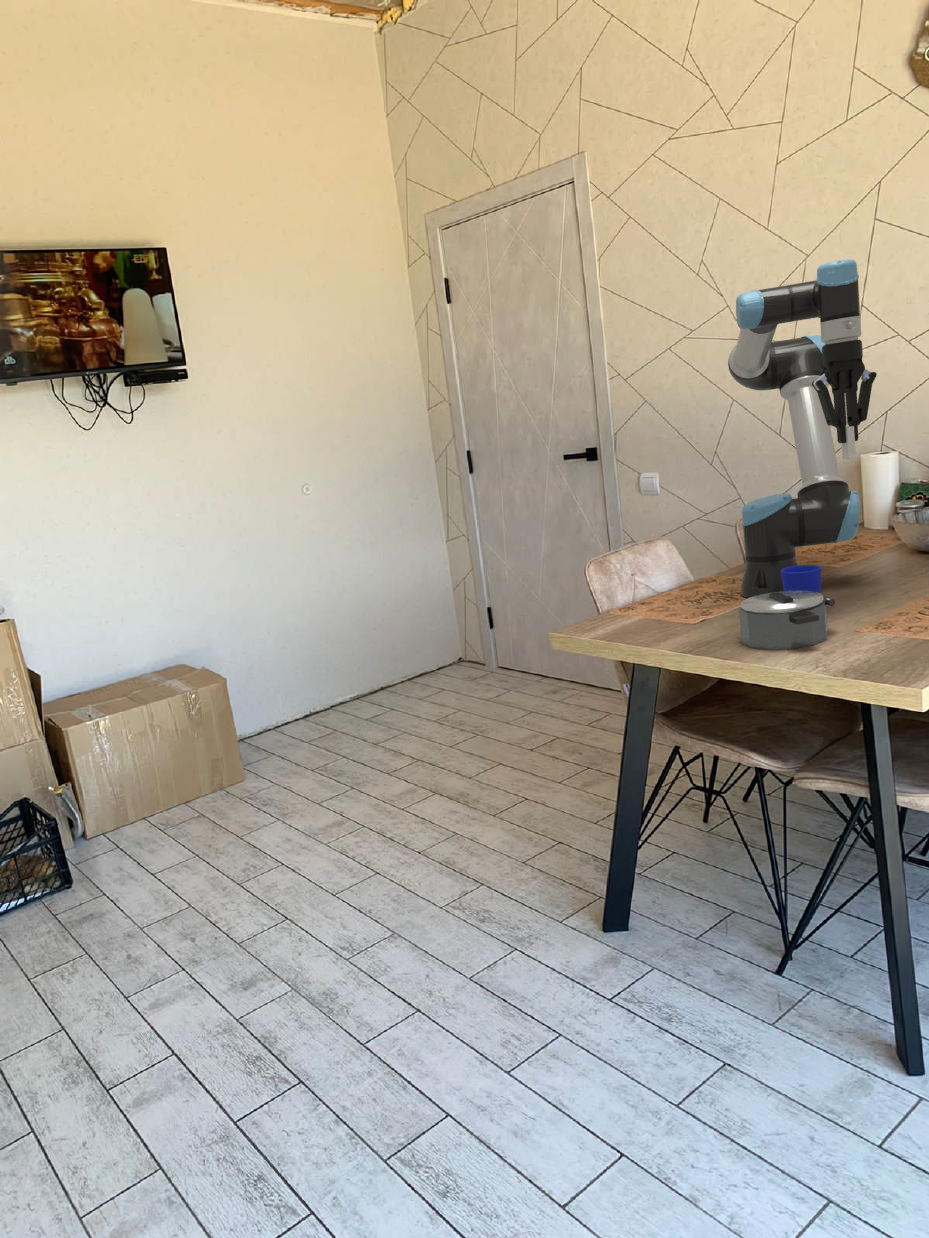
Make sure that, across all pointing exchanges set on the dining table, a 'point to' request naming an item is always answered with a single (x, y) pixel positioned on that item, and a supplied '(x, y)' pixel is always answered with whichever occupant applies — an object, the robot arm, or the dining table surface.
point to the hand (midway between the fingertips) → (849, 458)
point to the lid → (782, 602)
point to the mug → (802, 578)
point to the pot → (785, 628)
